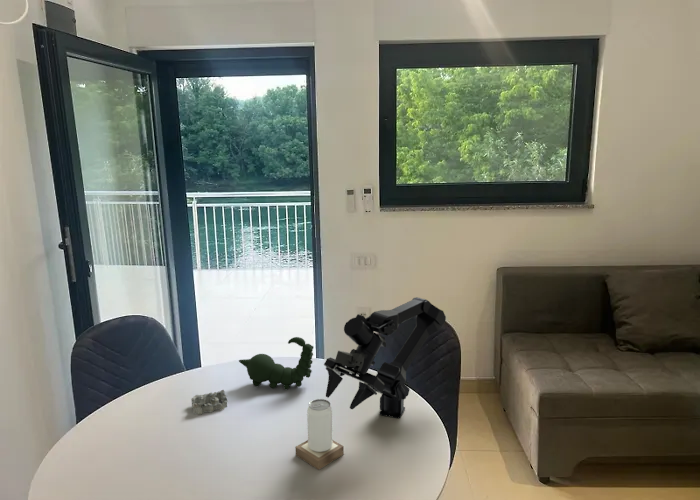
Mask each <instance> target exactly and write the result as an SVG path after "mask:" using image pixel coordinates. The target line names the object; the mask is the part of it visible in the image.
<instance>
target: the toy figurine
mask: <svg viewBox="0 0 700 500" xmlns="http://www.w3.org/2000/svg"><path fill="white" fill-rule="evenodd" d="M287 344H295V345H296V344H297V345H298V346H299V347H302V349H301V350H302V351H301V352H300V354H299V355H300V358H299V359H298V364H297V365H296V366H295V367H293V368H292V367H288V366H287V367H284V365H282V364H281V363H276V362H275V360H274V359H273V358H272V357H271V356H270V355H268V354H265V353H258V354H255V355H253V356H252V357H251V358H248V359H239V360H238V362H239V363H240V364H241V365H243V367H244V368H246V371H247V375H248V376H249V377H248V378H249V380H251V381H252V385H253V386H254V387H259V386H261V385H262V383H265V382H269V387H270V388H271V389H276V388H277V387H278V385H280V384H281V385H283V389H284V390H289V389H290V386H292V385H293V384H295V386H296V387H297V388H300V387H301V386H302V384H303V383H302V382H303V381H304V377H306V378H307V379H308V378H310V377H311V375H312V373H313V371H312V369H311V368H312V364H313V356H314V352H313V350H314V345H312V344H310V343H306V341H305V339H303V337H299V336H295V337H292V338H290V339H288V342H287Z"/></svg>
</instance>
